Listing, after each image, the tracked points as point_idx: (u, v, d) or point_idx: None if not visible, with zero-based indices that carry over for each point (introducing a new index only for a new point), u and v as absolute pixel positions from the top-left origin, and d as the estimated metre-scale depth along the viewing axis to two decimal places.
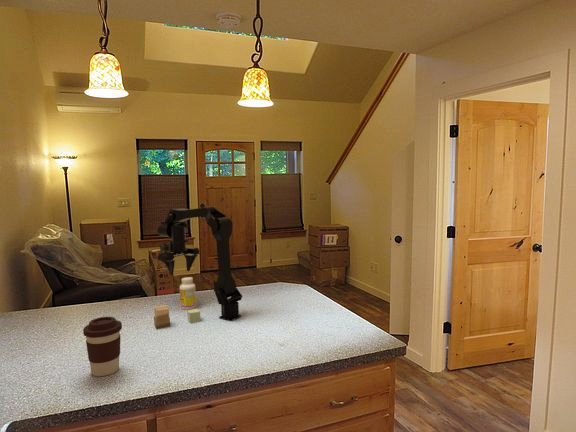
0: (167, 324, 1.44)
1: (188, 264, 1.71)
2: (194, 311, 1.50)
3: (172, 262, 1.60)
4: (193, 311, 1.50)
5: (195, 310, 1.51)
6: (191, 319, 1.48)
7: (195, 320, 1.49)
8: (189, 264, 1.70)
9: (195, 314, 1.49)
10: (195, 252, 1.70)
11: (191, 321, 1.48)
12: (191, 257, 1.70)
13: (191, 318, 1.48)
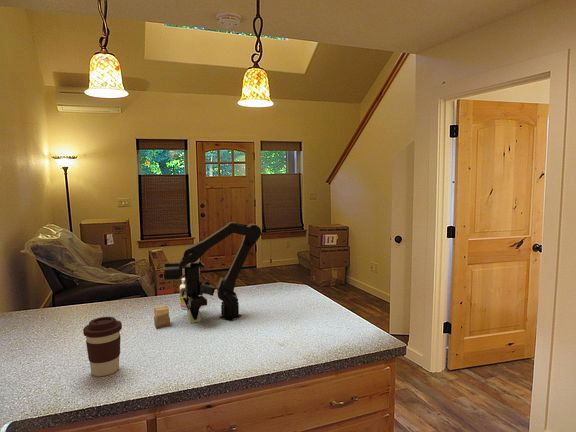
0: (167, 324, 1.44)
1: None
2: None
3: (184, 301, 1.52)
4: None
5: None
6: (191, 319, 1.48)
7: (195, 320, 1.49)
8: None
9: None
10: (189, 302, 1.43)
11: (191, 321, 1.48)
12: None
13: (191, 318, 1.48)
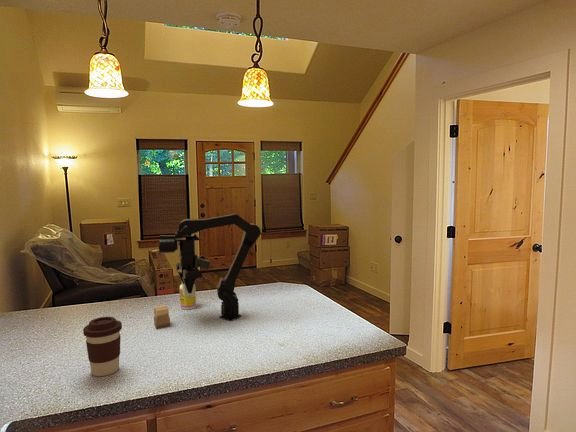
0: (167, 324, 1.44)
1: None
2: None
3: (179, 274, 1.50)
4: None
5: None
6: (186, 292, 1.46)
7: (190, 293, 1.47)
8: None
9: None
10: (183, 275, 1.41)
11: (186, 294, 1.47)
12: None
13: (186, 291, 1.46)
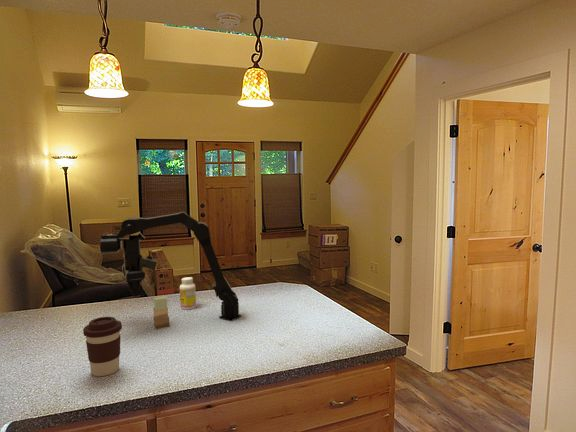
0: (167, 324, 1.44)
1: None
2: (160, 298, 1.44)
3: None
4: (159, 298, 1.44)
5: (162, 297, 1.45)
6: (157, 306, 1.43)
7: (161, 307, 1.43)
8: None
9: (161, 301, 1.43)
10: (125, 275, 1.36)
11: (157, 308, 1.43)
12: None
13: (157, 305, 1.42)
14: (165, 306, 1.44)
